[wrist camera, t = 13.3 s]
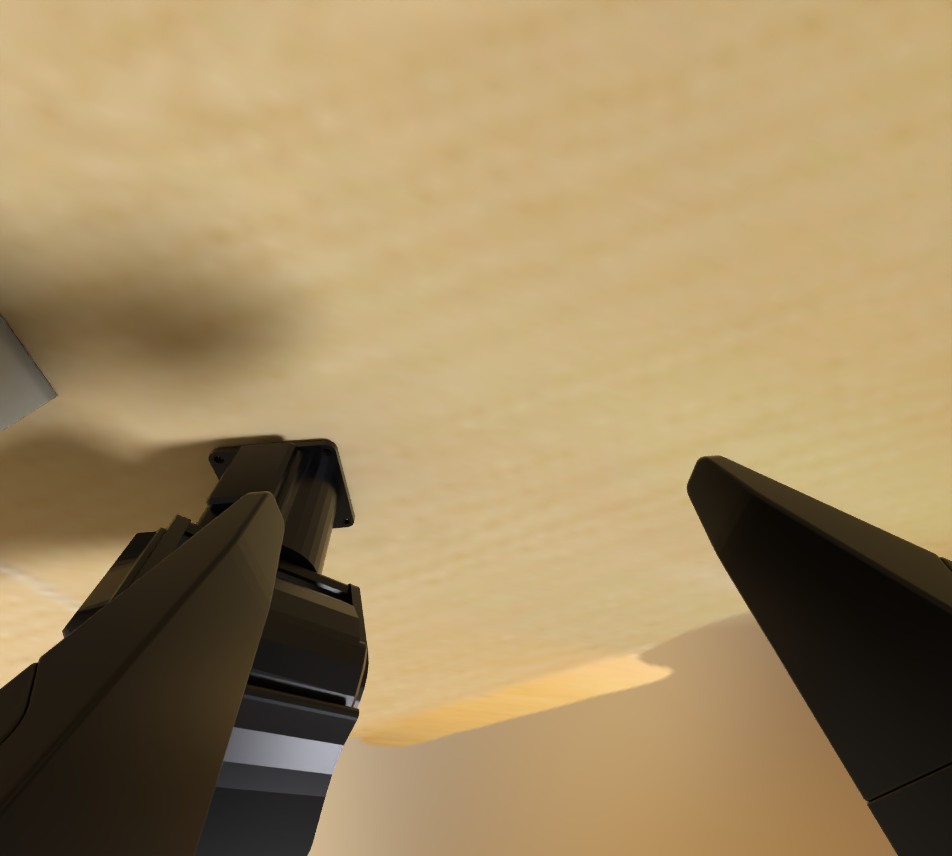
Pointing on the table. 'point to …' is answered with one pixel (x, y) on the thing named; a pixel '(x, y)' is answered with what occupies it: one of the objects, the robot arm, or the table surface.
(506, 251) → the table surface
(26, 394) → the bin
